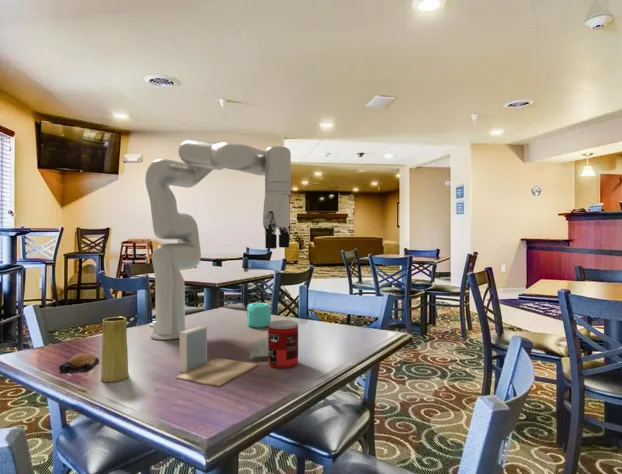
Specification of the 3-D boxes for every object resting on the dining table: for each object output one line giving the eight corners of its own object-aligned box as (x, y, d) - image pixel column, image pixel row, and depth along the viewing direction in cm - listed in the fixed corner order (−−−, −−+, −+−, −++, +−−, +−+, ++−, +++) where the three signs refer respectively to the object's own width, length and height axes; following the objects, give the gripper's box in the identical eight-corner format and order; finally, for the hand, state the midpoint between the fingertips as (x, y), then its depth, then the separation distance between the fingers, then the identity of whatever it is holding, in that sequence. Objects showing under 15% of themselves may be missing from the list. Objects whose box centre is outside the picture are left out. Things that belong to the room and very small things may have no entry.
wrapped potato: (68, 363, 108) (68, 350, 108) (102, 361, 110) (102, 347, 110) (53, 377, 98) (53, 362, 98) (91, 373, 100) (91, 359, 100)
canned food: (268, 360, 109) (268, 320, 109) (297, 359, 110) (297, 319, 110) (267, 369, 101) (267, 326, 101) (299, 368, 102) (298, 326, 102)
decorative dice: (267, 322, 156) (267, 302, 156) (270, 326, 148) (270, 305, 148) (247, 323, 154) (246, 303, 154) (249, 328, 146) (249, 306, 146)
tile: (179, 371, 100) (179, 332, 100) (201, 362, 107) (201, 325, 107) (186, 372, 99) (186, 333, 99) (207, 363, 106) (207, 326, 106)
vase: (110, 384, 91) (109, 322, 91) (95, 379, 95) (95, 319, 95) (134, 376, 97) (133, 318, 96) (119, 371, 100) (119, 315, 100)
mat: (175, 378, 95) (175, 376, 95) (218, 359, 110) (218, 357, 110) (218, 386, 90) (218, 385, 90) (257, 365, 104) (257, 364, 104)
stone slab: (249, 367, 108) (285, 360, 110) (248, 357, 108) (284, 350, 109) (247, 346, 130) (277, 340, 131) (246, 337, 130) (276, 332, 131)
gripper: (277, 193, 125) (277, 246, 126) (253, 186, 109) (252, 248, 109) (299, 192, 123) (299, 247, 123) (278, 185, 107) (278, 249, 107)
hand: (277, 247), depth 116 cm, fingers open, 9 cm apart
